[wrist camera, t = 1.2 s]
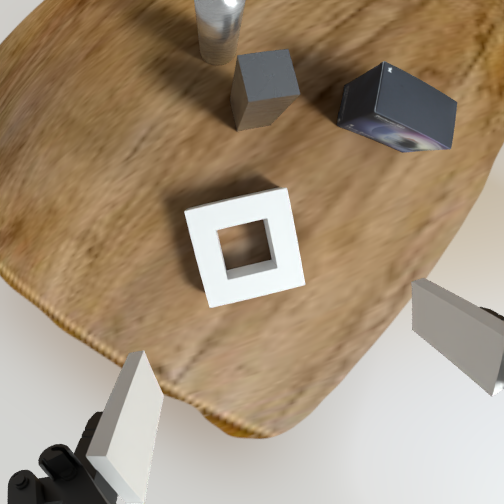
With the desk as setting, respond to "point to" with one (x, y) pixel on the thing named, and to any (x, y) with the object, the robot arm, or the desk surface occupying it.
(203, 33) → the round bit
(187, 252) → the desk surface
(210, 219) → the socket block
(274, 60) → the square bit
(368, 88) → the small box
